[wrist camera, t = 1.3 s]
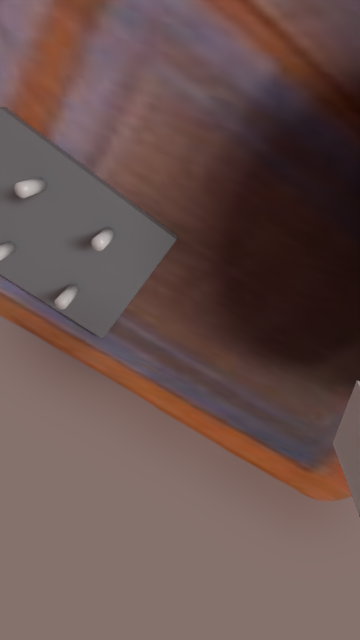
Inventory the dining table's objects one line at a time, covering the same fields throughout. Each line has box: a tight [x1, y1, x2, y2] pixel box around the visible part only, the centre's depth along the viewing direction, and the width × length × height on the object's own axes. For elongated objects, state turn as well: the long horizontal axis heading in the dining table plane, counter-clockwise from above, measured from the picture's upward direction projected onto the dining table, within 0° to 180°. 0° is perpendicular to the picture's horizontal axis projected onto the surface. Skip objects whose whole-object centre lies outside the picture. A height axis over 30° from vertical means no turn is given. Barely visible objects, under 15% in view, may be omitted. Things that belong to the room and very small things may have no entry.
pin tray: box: [0, 107, 178, 339], centre depth 32 cm, size 18×14×5 cm
